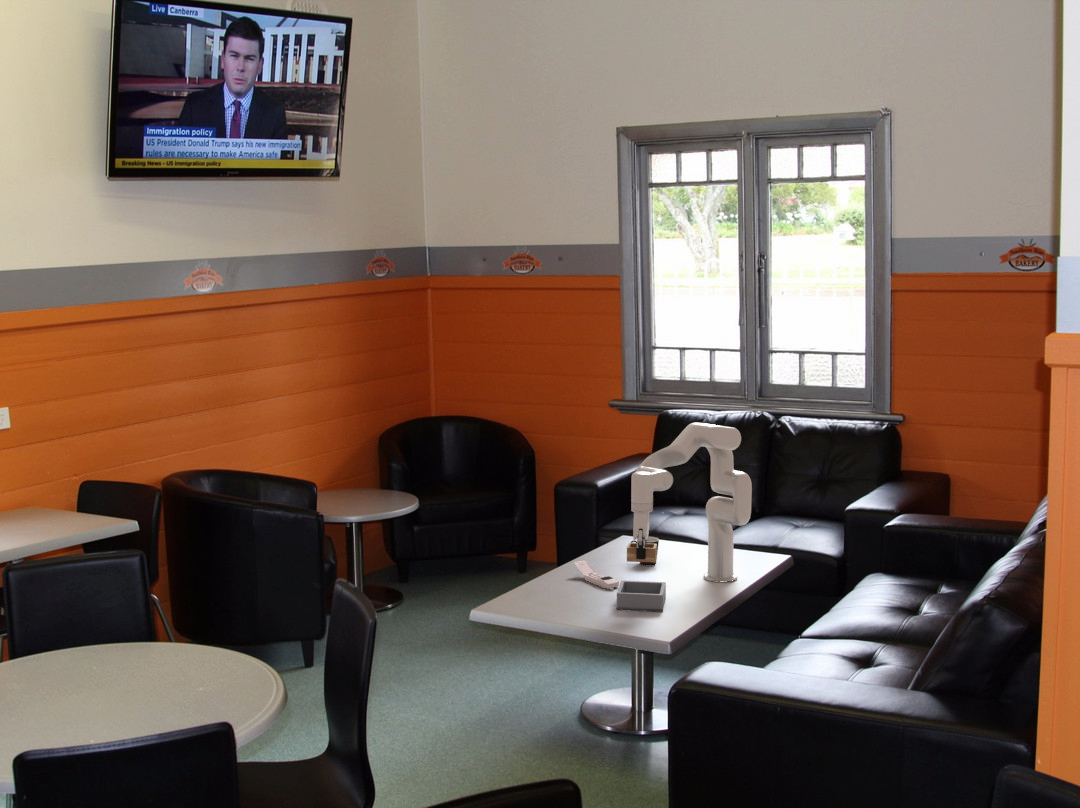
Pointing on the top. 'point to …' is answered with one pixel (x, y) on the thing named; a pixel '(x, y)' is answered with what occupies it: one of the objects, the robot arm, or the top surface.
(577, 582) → the top surface
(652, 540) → the coffee mug
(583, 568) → the mobile phone
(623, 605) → the grey open box
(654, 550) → the box
